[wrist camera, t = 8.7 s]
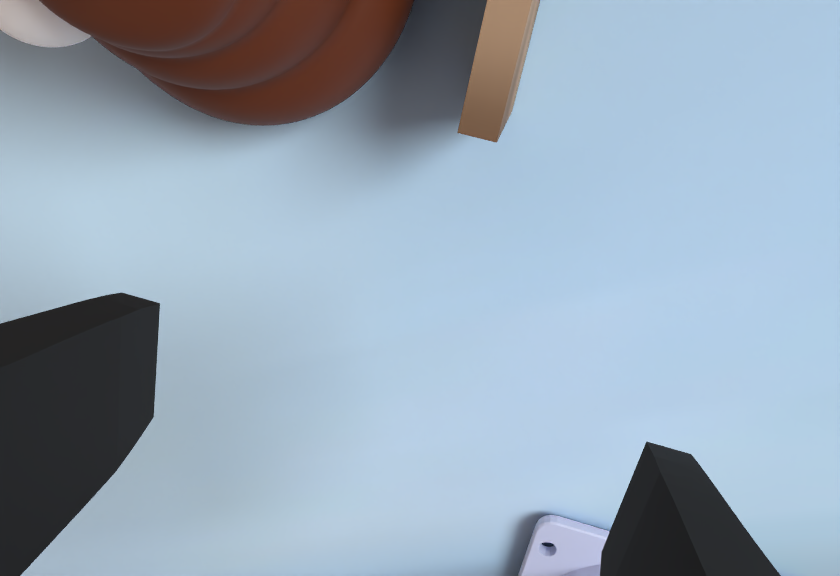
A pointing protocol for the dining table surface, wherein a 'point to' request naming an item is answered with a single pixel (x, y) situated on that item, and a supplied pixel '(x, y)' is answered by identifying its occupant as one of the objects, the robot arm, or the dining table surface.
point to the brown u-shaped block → (497, 67)
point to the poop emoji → (229, 47)
